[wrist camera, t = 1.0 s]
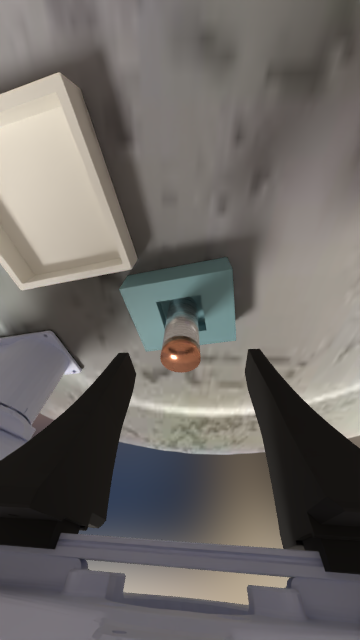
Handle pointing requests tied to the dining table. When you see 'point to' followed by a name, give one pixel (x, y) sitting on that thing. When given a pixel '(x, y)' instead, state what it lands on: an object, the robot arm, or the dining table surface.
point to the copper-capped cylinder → (181, 336)
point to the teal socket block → (179, 282)
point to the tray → (56, 190)
